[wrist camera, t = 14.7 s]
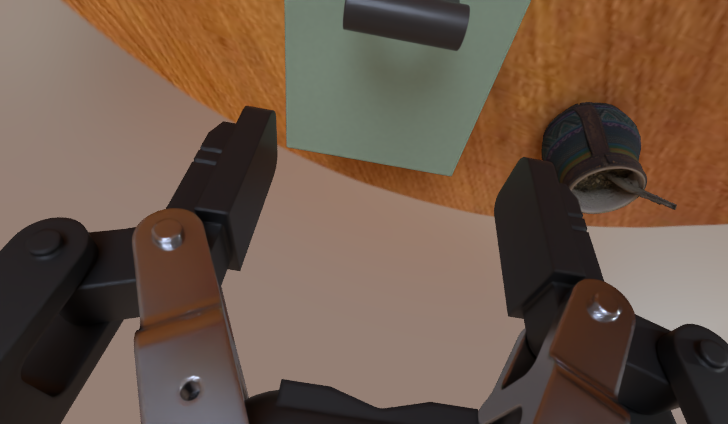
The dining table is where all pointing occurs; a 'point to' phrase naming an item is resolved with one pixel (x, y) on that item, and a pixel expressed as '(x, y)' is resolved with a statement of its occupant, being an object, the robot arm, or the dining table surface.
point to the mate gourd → (597, 157)
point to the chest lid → (393, 76)
